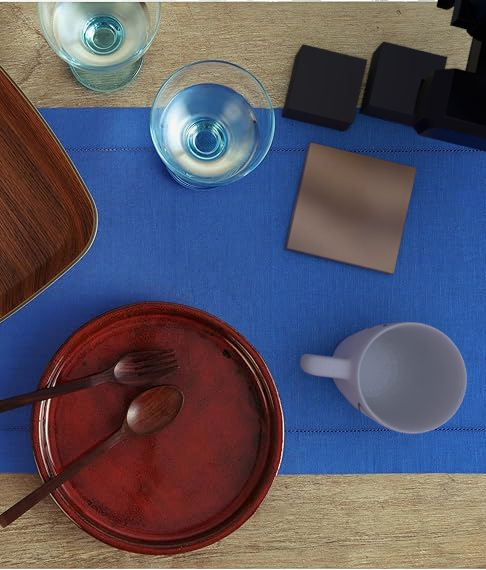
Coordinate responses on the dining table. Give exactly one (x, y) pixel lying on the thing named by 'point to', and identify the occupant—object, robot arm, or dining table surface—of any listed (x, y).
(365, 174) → the cork mat
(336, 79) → the pad top
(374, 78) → the pad bottom
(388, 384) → the mug
